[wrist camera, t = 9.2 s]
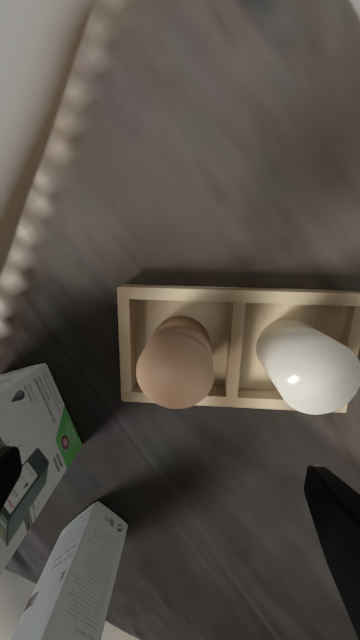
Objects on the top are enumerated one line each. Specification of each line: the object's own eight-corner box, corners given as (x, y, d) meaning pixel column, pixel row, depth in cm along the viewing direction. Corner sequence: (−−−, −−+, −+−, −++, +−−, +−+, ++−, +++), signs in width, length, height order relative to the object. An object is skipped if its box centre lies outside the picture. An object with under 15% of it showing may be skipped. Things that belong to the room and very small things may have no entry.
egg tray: (351, 290, 17) (370, 294, 15) (330, 397, 19) (345, 412, 18) (125, 284, 18) (116, 287, 16) (128, 387, 20) (121, 401, 18)
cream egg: (321, 319, 17) (370, 342, 13) (311, 375, 18) (353, 416, 14) (259, 317, 18) (283, 338, 13) (252, 372, 19) (273, 412, 14)
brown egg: (212, 317, 18) (217, 339, 13) (208, 372, 19) (211, 411, 14) (152, 314, 18) (135, 334, 13) (152, 368, 19) (136, 406, 14)
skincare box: (96, 497, 23) (-3, 738, 12) (132, 524, 24) (71, 779, 12) (59, 531, 25) (-63, 777, 13) (94, 555, 25) (6, 813, 13)
